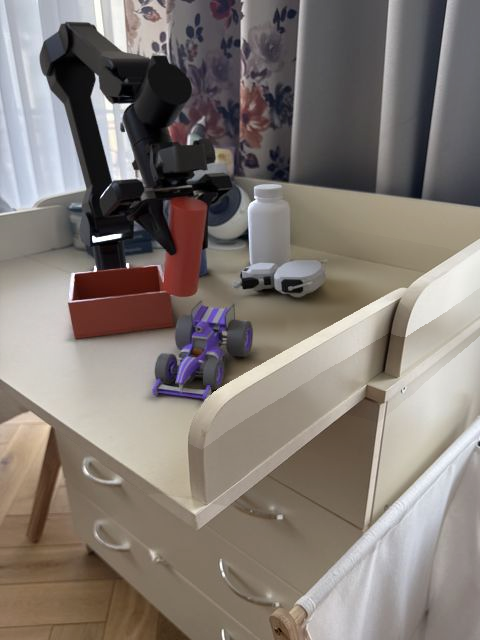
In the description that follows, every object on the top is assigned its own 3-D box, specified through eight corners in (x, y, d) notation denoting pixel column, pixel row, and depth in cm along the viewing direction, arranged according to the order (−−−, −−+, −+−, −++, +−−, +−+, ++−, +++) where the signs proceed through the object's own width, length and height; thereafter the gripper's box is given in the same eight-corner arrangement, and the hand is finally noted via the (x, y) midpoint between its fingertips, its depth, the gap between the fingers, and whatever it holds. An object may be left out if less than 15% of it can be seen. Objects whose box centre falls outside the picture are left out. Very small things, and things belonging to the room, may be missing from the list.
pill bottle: (252, 257, 111) (250, 182, 104) (292, 258, 110) (292, 182, 103) (246, 270, 104) (243, 190, 97) (288, 271, 103) (288, 190, 96)
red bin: (77, 305, 89) (71, 273, 87) (163, 295, 93) (160, 264, 90) (74, 339, 78) (67, 302, 76) (173, 326, 81) (170, 291, 79)
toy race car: (141, 395, 64) (134, 346, 61) (189, 340, 77) (185, 297, 74) (218, 405, 62) (214, 354, 59) (254, 347, 75) (252, 303, 72)
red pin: (161, 279, 81) (168, 195, 74) (194, 281, 83) (204, 198, 75) (164, 296, 77) (172, 209, 70) (199, 297, 79) (210, 211, 71)
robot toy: (229, 302, 91) (316, 305, 87) (226, 277, 90) (315, 278, 85) (253, 279, 102) (331, 280, 97) (250, 255, 100) (331, 256, 95)
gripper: (111, 113, 63) (155, 239, 63) (235, 114, 75) (273, 221, 75) (81, 159, 72) (120, 270, 72) (197, 154, 84) (230, 249, 84)
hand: (189, 251), depth 75 cm, fingers closed on red pin, 5 cm apart
